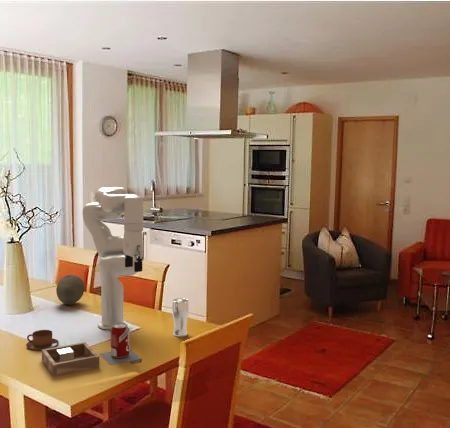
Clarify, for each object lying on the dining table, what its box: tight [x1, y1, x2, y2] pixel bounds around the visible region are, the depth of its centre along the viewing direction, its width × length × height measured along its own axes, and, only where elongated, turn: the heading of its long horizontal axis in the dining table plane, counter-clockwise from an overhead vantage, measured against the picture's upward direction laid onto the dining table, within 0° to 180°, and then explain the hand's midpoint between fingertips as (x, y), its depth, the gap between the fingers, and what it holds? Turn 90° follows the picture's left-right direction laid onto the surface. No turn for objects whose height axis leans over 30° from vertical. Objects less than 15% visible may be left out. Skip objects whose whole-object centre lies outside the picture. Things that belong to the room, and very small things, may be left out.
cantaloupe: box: [55, 274, 85, 306], centre depth 261 cm, size 14×14×15 cm
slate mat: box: [99, 347, 142, 366], centre depth 193 cm, size 12×12×1 cm
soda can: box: [110, 323, 130, 359], centre depth 193 cm, size 7×7×12 cm
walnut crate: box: [41, 342, 100, 377], centre depth 185 cm, size 16×16×5 cm
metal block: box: [56, 347, 74, 363], centre depth 187 cm, size 5×5×4 cm
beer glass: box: [171, 297, 190, 338], centre depth 220 cm, size 7×7×15 cm
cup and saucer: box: [25, 329, 60, 352], centre depth 202 cm, size 12×12×6 cm
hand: (133, 269), depth 207 cm, fingers open, 9 cm apart
